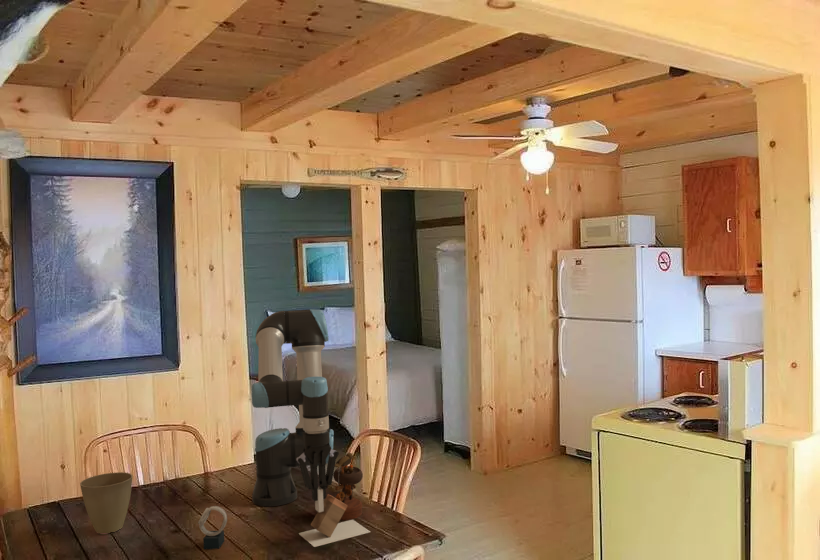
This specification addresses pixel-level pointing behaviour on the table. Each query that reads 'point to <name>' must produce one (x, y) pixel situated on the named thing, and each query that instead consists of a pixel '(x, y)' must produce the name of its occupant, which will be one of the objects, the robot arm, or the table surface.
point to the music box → (348, 486)
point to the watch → (212, 537)
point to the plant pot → (107, 500)
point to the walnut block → (329, 515)
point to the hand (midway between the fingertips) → (319, 510)
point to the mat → (334, 533)
